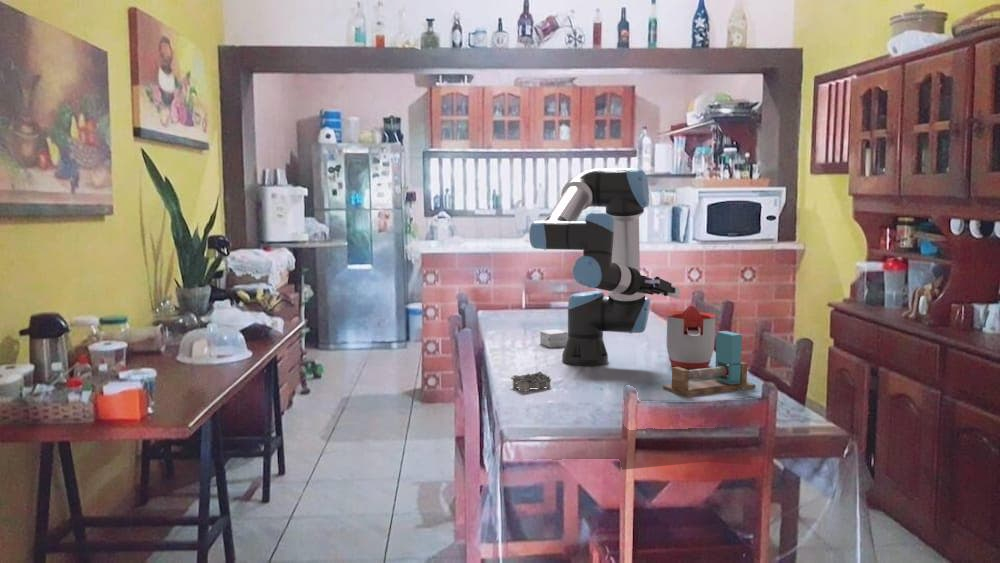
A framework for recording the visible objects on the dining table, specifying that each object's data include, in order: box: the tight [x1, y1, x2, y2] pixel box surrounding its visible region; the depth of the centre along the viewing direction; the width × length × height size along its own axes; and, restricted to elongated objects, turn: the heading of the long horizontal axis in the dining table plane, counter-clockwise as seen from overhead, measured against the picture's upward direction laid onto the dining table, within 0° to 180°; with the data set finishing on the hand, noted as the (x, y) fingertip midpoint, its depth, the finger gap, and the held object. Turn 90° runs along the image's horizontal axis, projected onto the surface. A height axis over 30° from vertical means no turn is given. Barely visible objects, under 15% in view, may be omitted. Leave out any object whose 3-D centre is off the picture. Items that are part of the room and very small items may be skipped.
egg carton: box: [510, 371, 553, 391], centre depth 217 cm, size 11×8×4 cm
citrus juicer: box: [666, 304, 717, 370], centre depth 243 cm, size 16×17×20 cm
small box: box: [539, 328, 568, 348], centre depth 280 cm, size 8×8×5 cm
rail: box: [662, 361, 756, 398], centre depth 216 cm, size 25×10×7 cm, turn 115°
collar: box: [714, 330, 743, 385], centre depth 218 cm, size 4×7×14 cm, turn 25°
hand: (678, 292), depth 215 cm, fingers closed
